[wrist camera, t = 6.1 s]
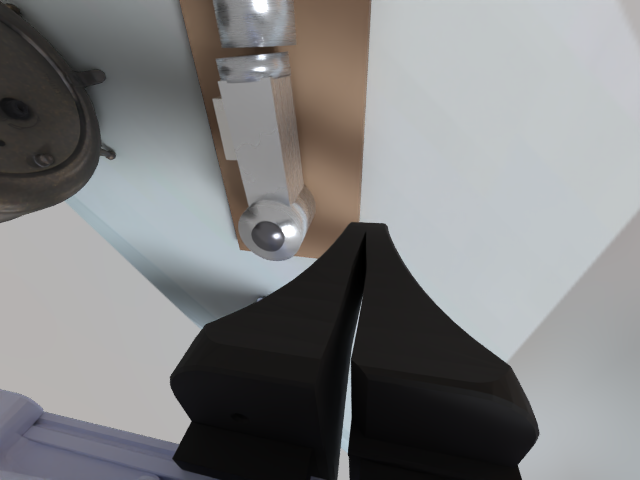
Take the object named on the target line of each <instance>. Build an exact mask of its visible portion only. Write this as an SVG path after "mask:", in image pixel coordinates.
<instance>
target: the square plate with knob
mask: <svg viewBox="0 0 640 480" xmlns="http://www.w3.org/2000/svg"><path fill="white" fill-rule="evenodd" d="M213 6H214V11H215V16H216V21H217V26H218V32H219V37H220V42H221V47H222V48H244V47H268V46H288V45H296V30H295V15H294V0H213ZM212 100H213V104H214V108H215V113H216V117H217V122H218V126H219V130H220V135H221V139H222V144H223V148H224V152H225V157H226V160H237V157H236V153H235V149H234V145H233V141H232V137H231V133H230V129H229V125H228V121H227V117H226V113H225V109H224V105H223V101H222V97H221V96H219V97H216V98H213V99H212Z"/></svg>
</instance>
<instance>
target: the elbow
mask: <svg viewBox="0 0 640 480" xmlns="http://www.w3.org/2000/svg"><path fill="white" fill-rule="evenodd" d="M216 63H217V67H218V71H219V76H220V80H221V81H218V85H219V89H220V93H221V97H222V101H223V105H224V109H225V113H226V117H227V121H228V125H229V129H230V133H231V137H232V141H233V145H234V149H235V153H236V157H237V161H238V165H239V169H240V173H241V177H242V181H243V185H244V189H245V193H246V197H247V201H248V205H249V207H248V208H247V209H246V210H245V212H244V213H243V214H242V215H241V217H240V219H239V223H238V231H239V235H240V237H241V239H242V241H243V243H244V244H245V245H246V246H247V248H248V249H249V250H251V251H252V252H253V253H255V254H256V255H258V256H260V257H262V258H264V259H267V260H272V261H282V260H286V259H289V258H291V257H293V256H294V255H295V254H296V253H297V252H298V250H299V248H300V246H301V243H302V241H303V239H304V237H305V235H306V232H307V230H308V228H309V226H310V224H311V221H312V219H313V217H314V215H315V211H316V204H315V200H314V197H313V195H312V193H311V192H310V191H309V189H308V188H307V187H306V186H304V183H303V175H302V166H301V158H300V150H299V141H298V133H297V125H296V116H295V108H294V100H293V91H292V83H291V69H290V61H289V52H276V53H265V54H254V55H244V56H235V57H226V58H217V59H216Z"/></svg>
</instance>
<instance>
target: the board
mask: <svg viewBox="0 0 640 480" xmlns="http://www.w3.org/2000/svg"><path fill="white" fill-rule="evenodd" d="M179 1H180V5H181V9H182V13H183V17H184V22H185V26H186V30H187V34H188V38H189V42H190V46H191V50H192V54H193V59H194V63H195V67H196V71H197V75H198V79H199V83H200V87H201V91H202V96H203V100H204V104H205V108H206V112H207V116H208V120H209V124H210V128H211V133H212V137H213V141H214V145H215V149H216V153H217V157H218V161H219V165H220V169H221V174H222V178H223V182H224V186H225V190H226V194H227V198H228V202H229V206H230V211H231V215H232V219H233V223H234V227H235V231H236V235H237V239H238V243H239V248H240V250H245V251H251V250H249V249H248V248H247V246H246V245H245V244H244V243H243V241H242V239H241V237H240V235H239V231H238V223H239V219H240V217H241V215H242V214H243V213H244V212H245V210H246V209H247V208H248V207H249V205H248V201H247V197H246V193H245V189H244V185H243V181H242V177H241V173H240V169H239V165H238V161H237V160H226V157H225V152H224V148H223V144H222V139H221V135H220V130H219V126H218V122H217V117H216V113H215V108H214V104H213V100H212V99H213V98H216V97H219V96H221V93H220V89H219V85H218V81H221V80H220V76H219V71H218V67H217V63H216V59H217V58H226V57H235V56H244V55H254V54H265V53H276V52H289V61H290V69H291V83H292V91H293V100H294V108H295V116H296V125H297V133H298V141H299V150H300V158H301V166H302V175H303V183H304V186H306V187H307V188H308V189H309V191H310V192H311V193H312V195H313V197H314V200H315V204H316V211H315V215H314V217H313V219H312V221H311V224H310V226H309V228H308V230H307V232H306V235H305V237H304V239H303V241H302V243H301V246H300V248H299V250H298V252H297V253H296V254H295V255H294V256H300V257H309V258H319V257H320V256H322V255H323V254H324V253H325V252H326V251H327V250H328V248H329V247H330V246H331V245H332V244H333V243H334V242H335V241H336V240H337V238H338V237H339V236H340V235H341V234H342V232H343V231H344V230H345V228H346V227H347V226H348V224H350V223H351V222H359V218H360V200H361V181H362V163H363V145H364V126H365V108H366V89H367V71H368V52H369V34H370V15H371V0H294V15H295V30H296V45H288V46H268V47H244V48H222V47H221V42H220V37H219V32H218V26H217V21H216V16H215V11H214V6H213V0H179Z"/></svg>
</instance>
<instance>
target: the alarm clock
mask: <svg viewBox="0 0 640 480" xmlns="http://www.w3.org/2000/svg"><path fill="white" fill-rule="evenodd" d="M105 78H106V77H105V74H104V72H102V71H101V70H91V71H85V72H75V71H73V70H72V69H71V68H70V67H69V65H68V64H67V63H66V62H65V60H64V59H63V58H62V57H61V56H60V54H59V53H58V52H57V51H56V50H55V49H54V48H53V47H52V46H51V45H50V44H49V43H48V42H47V41H46V40H45V39H44V38H43V36H42V35H41V34H39V33H38V32H37V31H36V30H35V29H34V28H33V27H32V26H31V25H30V24H29V23H27V22H26V21H25V20H24V19H23V18H21V17H20V11H19V9H18V8H17V7H16V6H14V5H12V4H3V3H2V2H0V223H2V222H6V221H9V220H12V219H15V218H17V217H20V216H22V215H25V214H29V213H32V212H35V211H38V210H42V209H45V208H48V207H51V206H54V205H56V204H58V203H61V202H63V201H65V200H66V199H68V198H70V197H71V196H73V195H74V194H76V193H77V192H78V191H79V190H80V189H82V188H83V187H84V186H85V184H86V183H87V182H88V181H89V179H90V178H91V177H92V175H93V173H94V171H95V169H96V167H97V165H98V162H99V157H100V156H105V157H106V158H108V159H110V160H112V159H114V158H115V157H116V155H115V153H114V152H112V151H106V150H104V149H102V148H101V136H100V129H99V124H98V120H97V116H96V113H95V110H94V108H93V105H92V103H91V101H90V99H89V97H88V95H87V93H86V91H85V89H84V88H85V87H86V86H90V85H95V84H99V83H102V82H103V81H104V80H105Z"/></svg>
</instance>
